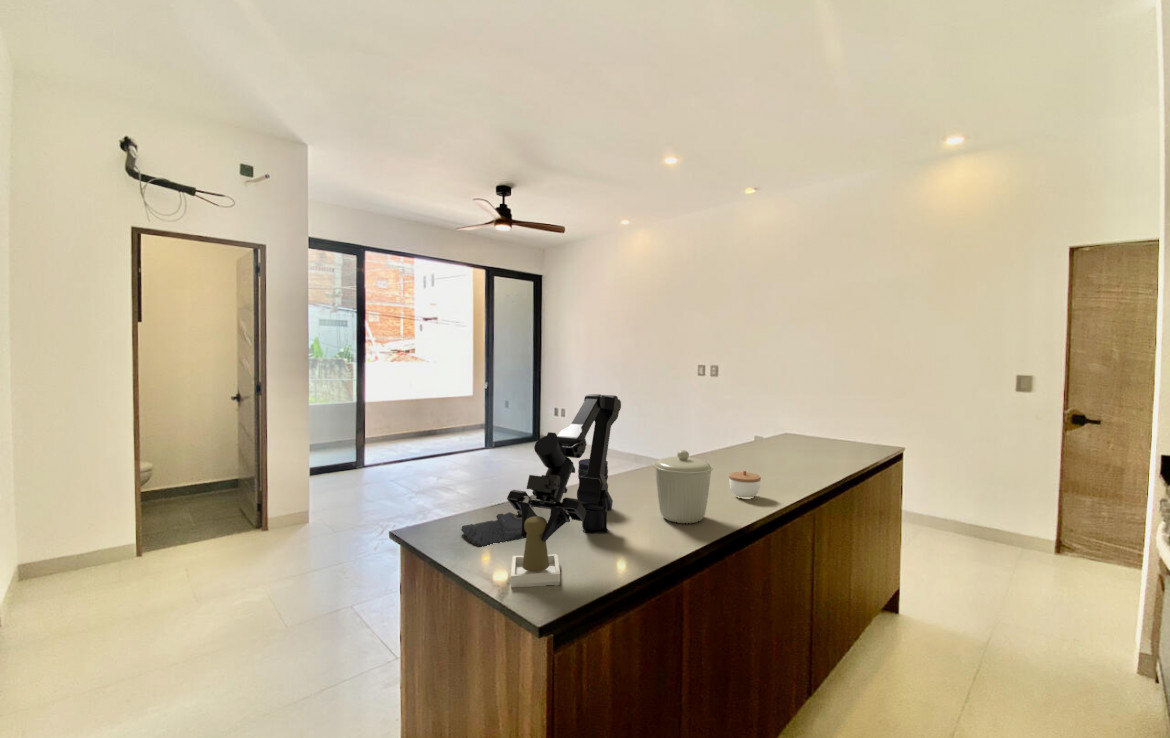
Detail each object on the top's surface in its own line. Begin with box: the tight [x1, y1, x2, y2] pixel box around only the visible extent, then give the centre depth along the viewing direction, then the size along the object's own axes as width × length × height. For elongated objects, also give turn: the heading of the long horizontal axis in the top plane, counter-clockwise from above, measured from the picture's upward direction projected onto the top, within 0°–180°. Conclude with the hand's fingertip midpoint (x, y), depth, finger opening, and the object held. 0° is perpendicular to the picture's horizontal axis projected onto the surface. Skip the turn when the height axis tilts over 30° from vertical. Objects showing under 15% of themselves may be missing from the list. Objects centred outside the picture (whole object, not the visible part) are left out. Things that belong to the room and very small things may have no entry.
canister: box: [652, 449, 714, 524], centre depth 152 cm, size 18×18×21 cm
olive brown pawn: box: [523, 515, 549, 572], centre depth 112 cm, size 6×6×11 cm
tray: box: [510, 553, 561, 588], centre depth 112 cm, size 11×11×2 cm
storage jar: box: [577, 458, 609, 482], centre depth 163 cm, size 10×10×15 cm
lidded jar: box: [728, 470, 761, 498], centre depth 175 cm, size 11×11×9 cm
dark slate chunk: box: [461, 510, 538, 548], centre depth 140 cm, size 15×22×5 cm
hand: (532, 539), depth 111 cm, fingers closed on olive brown pawn, 5 cm apart
